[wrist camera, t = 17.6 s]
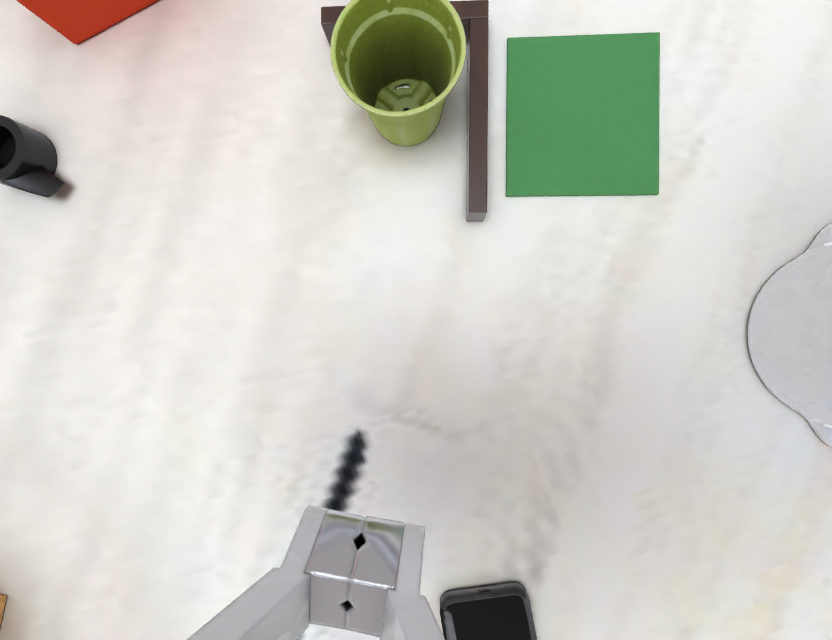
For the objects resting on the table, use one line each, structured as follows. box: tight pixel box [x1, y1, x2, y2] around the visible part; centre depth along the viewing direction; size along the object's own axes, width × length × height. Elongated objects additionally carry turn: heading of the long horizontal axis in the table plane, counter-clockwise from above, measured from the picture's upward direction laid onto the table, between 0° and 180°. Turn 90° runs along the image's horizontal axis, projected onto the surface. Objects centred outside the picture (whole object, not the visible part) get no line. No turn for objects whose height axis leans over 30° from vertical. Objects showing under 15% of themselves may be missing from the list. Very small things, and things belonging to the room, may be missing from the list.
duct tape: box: [0, 115, 64, 197], centre depth 37 cm, size 8×10×3 cm
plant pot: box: [330, 0, 466, 146], centre depth 31 cm, size 9×9×9 cm
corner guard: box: [321, 0, 488, 221], centre depth 34 cm, size 14×18×3 cm
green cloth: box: [506, 33, 660, 197], centre depth 35 cm, size 13×14×1 cm
